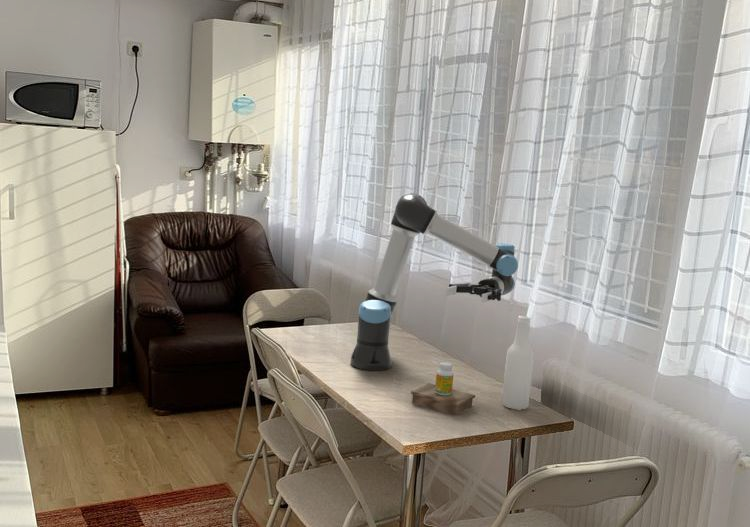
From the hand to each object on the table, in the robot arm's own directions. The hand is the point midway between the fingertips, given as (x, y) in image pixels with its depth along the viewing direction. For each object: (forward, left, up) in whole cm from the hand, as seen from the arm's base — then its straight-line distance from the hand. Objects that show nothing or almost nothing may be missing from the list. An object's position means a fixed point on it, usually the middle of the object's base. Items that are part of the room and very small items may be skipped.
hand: (464, 295), depth 271 cm
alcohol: (+25, -7, -32) cm, 41 cm away
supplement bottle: (+7, -24, -28) cm, 37 cm away
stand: (+7, -24, -32) cm, 40 cm away
